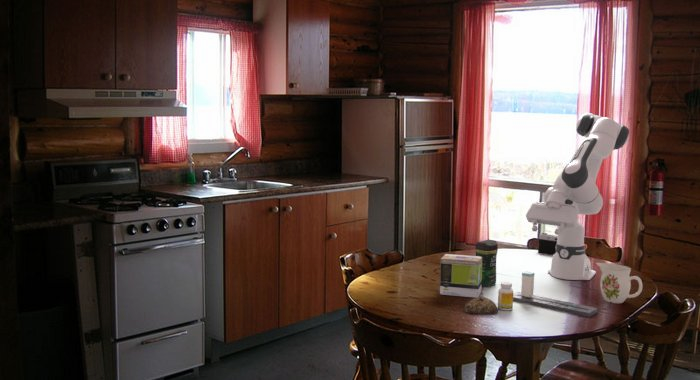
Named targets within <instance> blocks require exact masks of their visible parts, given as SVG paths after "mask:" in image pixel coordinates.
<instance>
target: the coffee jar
mask: <svg viewBox="0 0 700 380" xmlns="http://www.w3.org/2000/svg"><path fill="white" fill-rule="evenodd" d="M498 246H499V244H498V242H497V240H493V239H485V240H481V241H477V242H475V247H474V252H475V256H481V257H482V286H481V287H491V286H493V285H496V284H497V257H498V256H497V255H498V249H499V247H498Z"/></svg>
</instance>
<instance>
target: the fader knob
mask: <svg viewBox="0 0 700 380" xmlns="http://www.w3.org/2000/svg"><path fill="white" fill-rule="evenodd" d="M534 287H535V272H531V271H527V270H526V271H523V272H522V273H521V296H525V297H532V296H533V295H534V289H535V288H534Z"/></svg>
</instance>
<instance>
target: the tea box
mask: <svg viewBox="0 0 700 380" xmlns="http://www.w3.org/2000/svg"><path fill="white" fill-rule="evenodd" d="M439 269H440V275H439V276H440V277H439V295H444V296H452V297H453V296H454V297H455V296H456V297H464V298H472V299H474V298H479V297H480V295H481V293H482V287H483V286H482V257H481V256H476V255H468V254H467V255H466V254H452V253H451V254H450V253H445V254H444V255H443V256H442V257H441V258H440V268H439Z"/></svg>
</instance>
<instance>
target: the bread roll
mask: <svg viewBox="0 0 700 380" xmlns="http://www.w3.org/2000/svg"><path fill="white" fill-rule="evenodd" d="M462 310H463V312H465V313H467V314H468V313H469V314H475V315H495V314H497V313H498V310H499V309H498V305H496V303H495V302H494V301H493V300H491V299H490V298H488V297H485V296H478V298H472V299H471V300H469V301H467V302H466V303H465V304H464V307H463V309H462Z"/></svg>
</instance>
